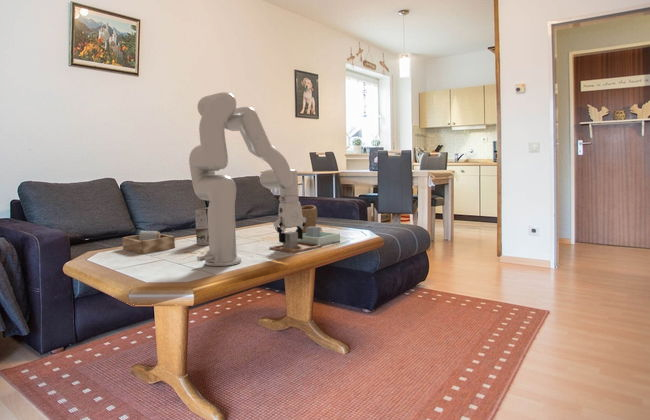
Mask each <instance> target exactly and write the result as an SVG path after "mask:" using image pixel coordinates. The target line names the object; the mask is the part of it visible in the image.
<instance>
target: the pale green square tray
mask: <svg viewBox="0 0 650 420" xmlns="http://www.w3.org/2000/svg"><path fill="white" fill-rule="evenodd" d="M298 242H305V243H311V244H318V245H322V246H325V245H329V244H333V243H341V234H340V233H336V232H327V231H323V232H321V231H320V237H319V238H316V237H308V236H306V233H303V239H298Z"/></svg>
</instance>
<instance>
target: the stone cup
mask: <svg viewBox="0 0 650 420" xmlns="http://www.w3.org/2000/svg"><path fill="white" fill-rule="evenodd" d="M301 208H302V215H303V217H305V218H306V222H305V225H304V229H302V233H306V227H311V226H316V227H317V225H316V224H317V219H318V218H317V217H318V209H317V206H315V205H313V204H307V205H301ZM319 227H320V231H321V232H324V231H323V229H322V227H321V226H319ZM294 232H296V230H294Z"/></svg>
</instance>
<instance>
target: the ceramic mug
mask: <svg viewBox="0 0 650 420" xmlns="http://www.w3.org/2000/svg"><path fill="white" fill-rule="evenodd" d="M161 234H162V233H161V232H160V231H157V230H140V231H139V234H138V235H139V241H144V240H151V239H158V238H161Z"/></svg>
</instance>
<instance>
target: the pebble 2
mask: <svg viewBox="0 0 650 420" xmlns="http://www.w3.org/2000/svg"><path fill="white" fill-rule="evenodd" d="M320 227H321V226H317V225H316V226H311V227H306V236H308V237H316V238H319V237H320Z"/></svg>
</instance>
